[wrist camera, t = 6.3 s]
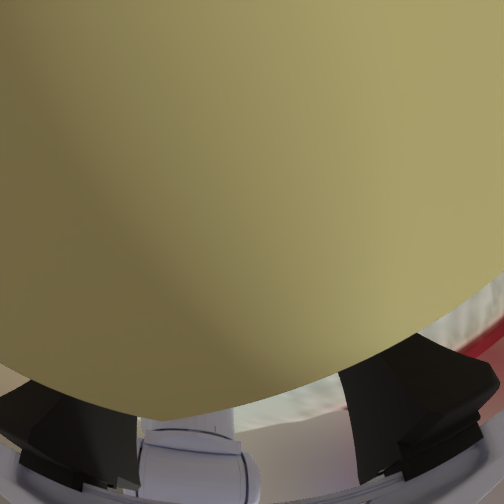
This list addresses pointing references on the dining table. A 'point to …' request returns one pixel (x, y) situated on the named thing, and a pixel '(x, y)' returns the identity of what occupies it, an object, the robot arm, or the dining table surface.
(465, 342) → the dining table surface
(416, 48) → the jar
